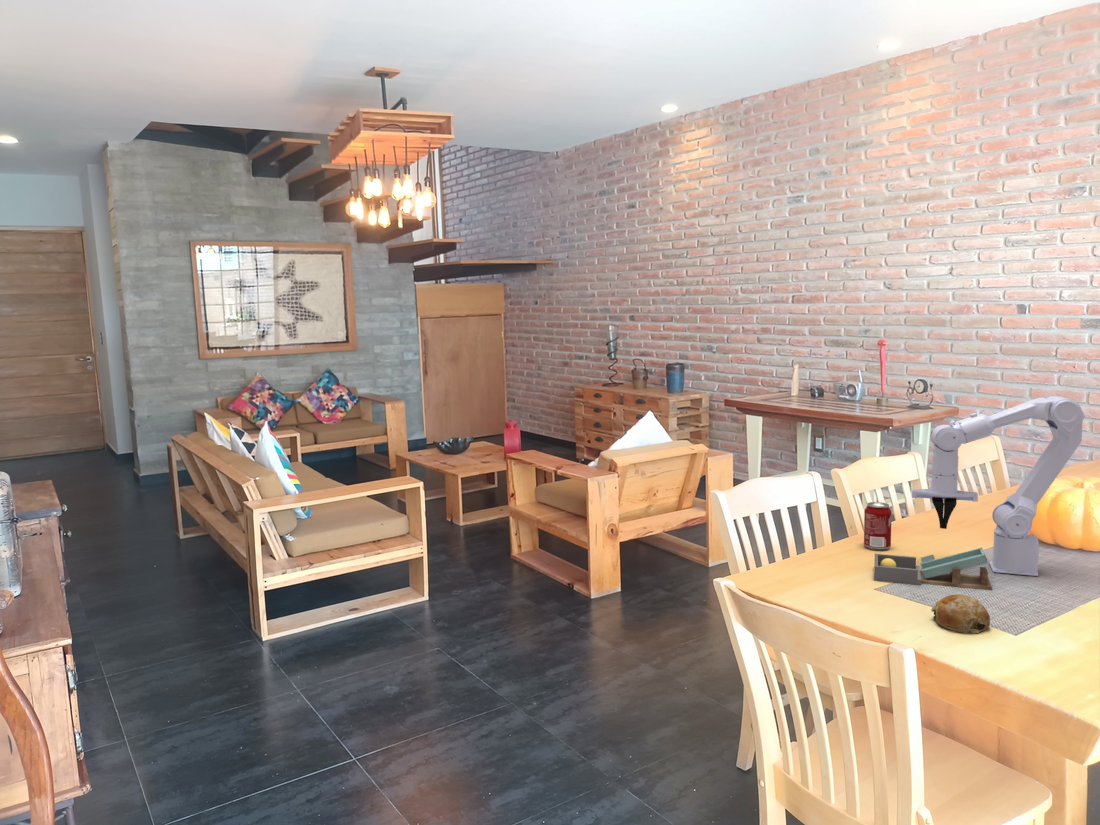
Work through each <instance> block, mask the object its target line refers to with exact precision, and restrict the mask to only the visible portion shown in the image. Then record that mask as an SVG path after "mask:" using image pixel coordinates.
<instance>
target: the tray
mask: <svg viewBox="0 0 1100 825" xmlns="http://www.w3.org/2000/svg"><path fill="white" fill-rule="evenodd" d="M886 558H890V559H892V560H894V561H895V563H896V567H887V566H880V564H881V561H882V560H884V559H886ZM873 563H874V566H873V567H874V569H873V572H874V573H873V581H875V582H883V583H884V582H885V583H886V582H887V583H895V584H896V583H897V584H905V585H907V584H908V585H916V586H917V585H918V586H922V583H921V575H920V570H921V569H920V566H918V565H917V557H916V556H908V555H899V554H898V555H896V554H884V553H883V554H882V553H874V562H873Z"/></svg>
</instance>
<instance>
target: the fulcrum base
mask: <svg viewBox="0 0 1100 825" xmlns="http://www.w3.org/2000/svg"><path fill="white" fill-rule="evenodd" d="M961 571H962V570H961V569H960V568H953V572H950V573H946V574H942V575H938V576H934V577H930V578H926V579H925V578H924V575H923V573H922V569H920V575H921V584H924V585H927V584H928V585H933V586H934V585H935V586H936V585H937V586H946V587H957V588H968V589H979V590H990V591H992V590H993V587H992V586H993V585H992V584H991V581H990V578H989V572H988V569H987V567H983V566H980V567H979V575H977V574H975V575H974V574H965V573H962V572H961Z"/></svg>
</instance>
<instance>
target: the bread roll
mask: <svg viewBox="0 0 1100 825" xmlns="http://www.w3.org/2000/svg"><path fill="white" fill-rule="evenodd" d="M930 611H931V613H933V615H934V616H933V620H935V622H936V624H938V625H939V626H940V627H942V628H943V629H945V630H946V629H947V630H950V631H953V632H956V633H957V632H958V633H964V634H973V635H975V634H978V633H981V632H983V631H985V630H987V629H988V628H989V627H990V625H991V624H990V623H991V618H990V613H989V612H988V610H987V608H986V607H985V606H984V605H983V604H982V603H981V602H979V600H978V599H977V598H975V597H971V596H968V595H965V594H958V593H957V594H950V595H947V596H944V597H942V598H941V599H940V600H938V601H935V605H934V606H932V607H931V610H930Z"/></svg>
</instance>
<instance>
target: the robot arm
mask: <svg viewBox="0 0 1100 825" xmlns="http://www.w3.org/2000/svg"><path fill="white" fill-rule="evenodd" d="M1085 417H1086V416H1085V413H1084V411H1083V409H1082V407H1081V405H1080V403H1079V402H1077V401H1076V400H1074V399H1073V398H1066V397H1063V396H1062V395H1058V394H1048V395H1046V396H1044V397H1037V398H1033V399H1031V400H1029V401H1025V402H1023V403H1021V404H1020V403H1019V404H1018V405H1015V406H1012V407H1010V408H1007V409H1004V410H1001V411H999V412H997V413H993V414H991V415H986V414H985V413H978V414H977V413H976V412H974V413H970V414H969V417H967V418H963V419H961V420H957V421H955V420H952V421H950V422H949V424H950V425H948V424H940V425H938V426H936V427H934V429H933V430H932V432H931V434H930V441H931V442H932V444H933V449H932V462H931V464H932V465H931V488H911V498H912V499H931V501H932V505H933V506H934V508H935V511H936V513H937V517H938V523H939V528H940V529H943V530H944V529H945V530H947V528H948V523H949V520H950V517H951V515H952V513H953V511H954V509H955V508H956V507H957V501H972V502H979V501H978V500H979V498H978V497H979V494H978V492H976V491H966V490H958V483H959V481H958V480H959V477H958V476H959V448H960V447H961V446H962V444H963V445H966V444H969V443H972V442H975V441H977V440H981V439H984V438H987V437H990V436H992V434H993V432H994V431H995V430H996V429H997V428H1001V427H1005V426H1008V425H1011V424H1016V423H1019V422H1023V421H1026V420H1029V419H1034V420H1038V421H1039V420H1040V421H1045V422H1046V424H1047V425H1048V427H1049V429H1050V433H1051V435H1052V439H1051V441H1050V442H1049V443H1048V445H1047V446H1046V448H1045V449H1044V451H1043V452H1042V454H1041V455H1040V456H1039V458H1038V459H1037V461H1036V462H1035V463H1034V465H1033V467H1032V468H1031V470H1030V471H1029V472H1028V474H1027V475H1026V477H1025V478H1024V479H1023V480H1022V482H1021V484H1020V485H1019V487H1018V488H1017V490H1016V491H1015V492H1014V493H1011V494H1010V495H1009V496H1006V499H1004V500H1003V502H1002V503H1000V504H998V505H996V507H994V508H993V511H992V514H991V516H992V520H993V522H994V524H996V527H995V529H994V530H993V549H992V550H993V551H992V552H993V553H992V560H989V561H988V564H989V566H990V568H991V571H992V572H993V573H999V574H1000V573H1001V574H1012V575H1023V576H1032V577H1033V576H1035V577H1038V576H1039V557H1040V556H1039V555H1040V546H1039V545H1040V544H1039V538H1038V536H1037V535H1031V534H1029V533H1030V531H1031V530H1032V526H1033V520H1034V519H1035V517H1036V516H1037V506H1038V504H1039V502H1040V501H1041V499H1042V498H1043V497H1044V495H1045V494H1046V492H1047V491H1048V490H1049V488H1050V487H1051V485H1052V484H1053V483H1054V481H1055V480H1056V479H1057V477H1058V476H1059V474H1060V473H1061V472H1062V470H1063V468H1064V467H1065V465H1067V463H1068V462H1069V460H1070V459H1071V457H1072V456H1073V454H1074V453H1075V452H1076V450H1077V449H1078V447H1079V446H1080V444H1081V442H1082V440H1083V438H1082V436H1083V422H1084V420H1085Z"/></svg>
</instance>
